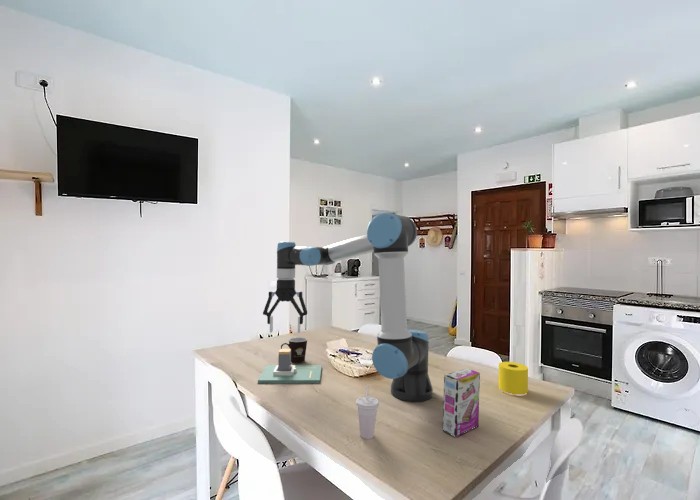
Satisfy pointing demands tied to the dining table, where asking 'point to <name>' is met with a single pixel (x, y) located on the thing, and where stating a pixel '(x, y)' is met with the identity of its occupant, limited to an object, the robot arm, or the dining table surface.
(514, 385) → the yellow toilet paper roll
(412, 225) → the robot arm
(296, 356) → the coffee mug
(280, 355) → the plug
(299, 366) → the board
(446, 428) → the candy bar box
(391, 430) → the dining table surface
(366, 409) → the smoothie
